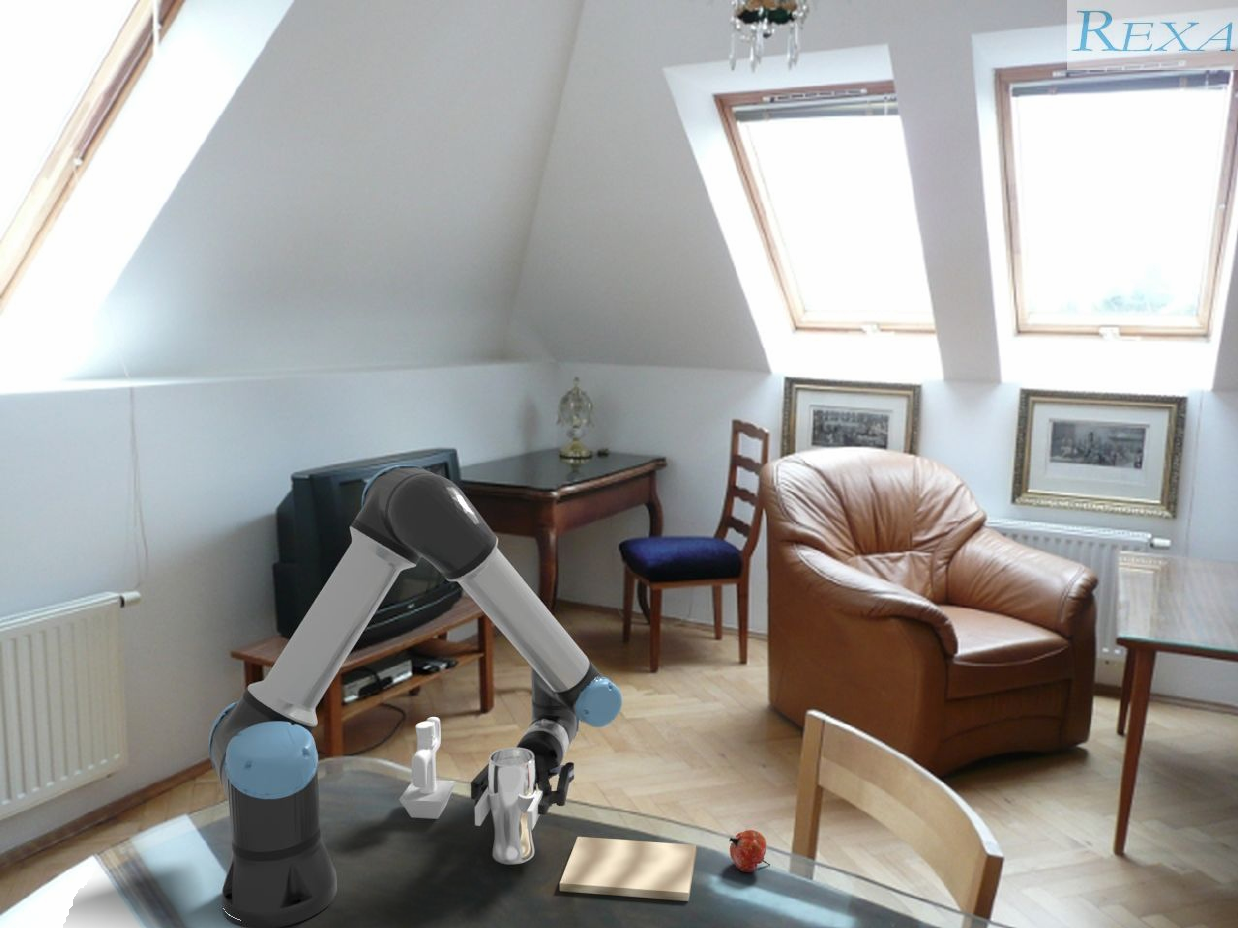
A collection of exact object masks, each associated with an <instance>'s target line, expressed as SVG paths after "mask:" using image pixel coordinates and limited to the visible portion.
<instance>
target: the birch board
mask: <svg viewBox="0 0 1238 928" xmlns="http://www.w3.org/2000/svg"><path fill="white" fill-rule="evenodd" d="M696 856H697V844H687V843H674V842H658V841H644V840H629V839H615V838H614V839H613V838H599V837H587V836H586V837H585V836H577V838H576V840H575V843H574V845H573V847H572V851H571V853H570V855H569V858H568V861H567V863H566V866H565V868H564V871H563V874H562V876H561V879H560V881H559V891H560V892H567V893H580V894H592V895H607V896H619V897H629V898H645V899H657V900H670V901H672V900H673V901H683V902H689V900H690V896H691V895H690V894H691V889H692V888H691V887H692V882H693V875H694V869H695V862H696Z"/></svg>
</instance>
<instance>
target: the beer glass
mask: <svg viewBox="0 0 1238 928" xmlns="http://www.w3.org/2000/svg"><path fill="white" fill-rule="evenodd" d="M534 757H535V756H534V753H533V752H532V751H530V750H528V749H524V748H517V746H513V747H512V746H511V747H504V748H500V749H498V750H495V751H493V752H492V753H490V754H489V757H488V763H489V770H488V793H489V801H490V806H491V809H490V811H491V815H492V820H493V825H494V842H493V848H492V858H493V860H495V861H496V862H497V863H500V864H504V865H519V864H523V863H526V862H528V861H529V860H531V859H533V857H534V855H535V846H534V841H533V835H532V830H529V829H527V810H528V808H529V807H530V805H531V803H532V801H533V799H534V797H535V795H536V793H537V783H536V768H535V758H534Z"/></svg>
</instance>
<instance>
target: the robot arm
mask: <svg viewBox="0 0 1238 928" xmlns="http://www.w3.org/2000/svg"><path fill="white" fill-rule="evenodd" d="M349 530H350V534H351V544H350V545H349V547H348V548H347V549H346V551H345V553H344V555H343V556H342V557H341V559H340V561H339V562H338V564H337V565H336V567H335V569H334V570H333V571H332V573H331V575H330V577H329V578H328V580H327V582H326V583H325V584H324V586H323V588H322V590H321V591H319V594H318V595H317V597H316V598H315V600H314V602H313V603H312V604H311V607H309V610H308V611H307V612H306V614H305V616H304V617H303V619H302V620H301V622H300V623H299V625H298V627H297V628H296V630H295V631H294V633H293V635H292V636H291V638H290V639H289V641H288V642H287V644H286V645H285V647H284V649H283V650H282V652H281V653H280V654H279V657H278V658H277V660H276V661H275V662H274V665H273V666H272V668H270V671H269V672H268V674H267V675H266V676H265V678H264V679H263V680H261V681H257V682H253V683H251V684H249V685H248V686H247V687H246V689H245V690H244V692H243V694H242V695H241V696H240V699H239V700H238V701H236V702H235V701H234V702H233V703H231V704H229V705H227V706H226V707H225V708H224V709H223V710H222V711H221V712H220V713H219V715H217V717H216V719H215V720H214V722H213V724H212V726H211V728H210V733H209V736H208V753H209V754H208V755H209V759H210V761H211V765H212V768H213V770H214V772H215V773H216V775H217V776H218V778H219V781H220V784H221V786H222V787H223V790H224V792H225V795H226V797H227V802H228V808H229V820H230V821H229V822H230V837H231V846H232V847H231V853H232V854H231V856H230V862H229V864H228V869H227V872H226V875H225V879H224V882H223V886H222V890H221V906H222V905H223V906H222V913H223V916H224V918H225V919H227V920H228V921H229V922H230V923H231V924H234V925H236V926H240V927H242V928H283V927H286V926H291V925H295V924H298V923H301V922H303V921H305V920H308V919H310V918H312V917H314V916H316V915H317V914H319V913H320V912H322V911H324V910H325V909H326V908H327V907H328V906H329V905H330V904H331V903H332V902H333V901H334V899H335V898H336V895H337V893H338V884H337V883H338V881H337V880H338V879H337V872H336V868H335V866H334V863H333V862H332V860H331V858H330V855H329V852H328V850H327V848H326V845H325V843H324V841H323V838H322V832H321V831H322V829H321V813H320V812H321V811H320V809H321V808H320V793H319V773H318V766H319V755H318V753H319V752H318V750H317V748H316V746H317V745H316V742H315V738H314V737H313V735H312V733H313V731H314V730H315V728H316V727H317V725H318V718H317V714H316V707H317V706H318V704H319V703H320V701H321V699H322V698H323V696H324V694H325V693H326V691H327V690H328V688H329V687H330V685H331V684H332V682H333V680H334V679H335V677H336V676H337V674H338V672H339V670H340V669H341V667H342V666H343V664H345V661H346V659H347V658H348V656H349V654H350V653H351V651H352V650H353V648H354V646H355V645H356V643H357V642H358V640H359V639H360V637H361V635H362V634H363V632H364V630H365V629H366V628H367V626H368V624H369V623H370V621H371V619H372V618H373V616H374V615H375V614H376V611H377V610H378V609H379V607H380V605H381V604H382V603H383V601H384V599H385V597H386V595H387V594H388V592H389V591H390V589H391V588H392V586H393V584H394V583H395V581H396V580H397V578H398V576H399V574H401V572H402V571H404V570H407V569H411V568H415V567H417V564H418V563H419V562H420V561H421V559H422V558H423V559H425V560H426V561H427V562H428V563H430V564H431V565H432V566H434V567H435V568H436V569H437V570H438V571H439V573H441V575H442V576H443V577H444V579H445V580H447V581H449V582H458V584H459V585H460V586H461V587H462V589H463V590H464V591H465V592H466V593H467V594H468V595H469V596H470V597H471V598H472V600H473V601H474V602H475V603H476V604H477V605H478V607H479V608H480V609H481V610H482V611H483V613H484V614H485V615H486V616H487V617H488V618H489V619H490V621H492V623H493V624H494V625H495V626H496V628H497V629H498V630H499V631H500V632H501V633H502V635H504V637H506V639H507V640H508V641H509V642H510V644H511V645H512V646H513V647H514V648H515V649H516V650H517V651H518V652H519V654H520V655H521V656H522V657H523V658H524V660H526V661H527V663H528V664H529V665H530V672H531V673H530V674H531V675H530V676H531V682H530V683H531V722H530V725H529V726H528V728H527V730H526V731H525V733H524V734H523V735H522V738H520V741H519V742H518V744H517V745H516V747H517V748H524V749H528V750H530V751H532V752H533V753H534V756H535V757H534V758H535V768H536V787H537V788H538V790H536V795H535V797H534V799H533V801H532V803H531V805H530V807H529V808H528V810H527V829H529V830H531V831H533V829H534V828H535V826H536V823H537V821H538V820H539V818H540V816H541V815H544V816H545V815H547V813H548V811H549V809H550V808H551V807H552V806H553V805H554V804H556V806H558V807H563V806H565V805H566V802H567V796H568V790H569V786H570V783H572V782H573V780H574V779H575V764H574V762H572V761H568V762H566V763H564V764H562V762H563V760H564V758H565V756H566V754H567V752H568V750H569V748H570V745H571V744H572V742H573V740H574V739H575V738H576V736H577V733H578V732H579V727H580V723H583V724H587V725H588V726H590V727H593V728H602V727H605V726H607V725H609V724H611V723H612V722H613V721H615V719H616V718H617V717H618V715H619V714H620V711H621V709H622V704H623V696H622V692H621V690H620V689H619V687H618V686H617V685H616V684H615V683H614V682H613V681H612V680H611V679H609V678H608V677H605V676H604V675H603V674H602V673H601V672H600V671H599V670H598V669H597V667H596V666H595V665H594V664H593V662H592V661H591V660H590V659H589V658H588V656H587V655H586V654H585V653H584V651H583V650H582V649H581V648H580V647H579V645H578V644H577V643H576V642H575V641H574V640H573V638H572V637H571V636H570V634H568V632H567V630H565V629H564V627H563V626H562V625H561V623H560V622H559V621H558V620H557V618H556V617H555V616H554V615H553V614H552V612H551V611H550V610H549V609H548V608H547V606H546V605H545V604H544V603H543V601H541V599H540V598H539V597H538V595H536V593H535V592H534V591H533V590H532V588H531V586H529V585H528V583H527V582H526V581H525V580H524V579H523V577H522V576H521V575H520V574H519V573H518V571H517V569H515V567H514V566H513V565H512V564H511V563H510V562H509V560H508V559H507V558H506V557H505V555H504V554H503V553H502V552H501V550H500V549H499V548H498V543H499V538H498V537H497V535H496V533H495V532H494V531H493V530H492V529H491V527H490V526H489V525H488V524H487V522H486V521H485V520H484V518H483V517H482V516H481V514H480V512H479V511H478V510H477V509H476V507H475V506H474V505H473V504H472V502H471V501H470V499H468V497H467V496H466V495H465V493H464V492H463V491H462V490H461V489H460V488H459V486H457V485H456V484H455V483H454V482H453V481H451V479H448V478H446V477H444V476H442V475H439V474H436V473H435V472H431V471H429V470H426V469H425V468H423V467H421V466H418V465H414V464H396V465H395V464H394V465H391V466H388V467H385V468H383V469H381V470H379V471H377V473H375V474H374V475H373V476H372V477H371V478H370V479H369V481H367V483H366V484H365V486H364V489H363V492H362V496H361V509H360V510H359V512H358V514H357V516H356V517H355V519H354V520H353V522H352V523H351V524H350V526H349ZM488 770H489V762H488V763H487V764H486V765H485V766H484V767H483V769H482V770H481V771H480V772H479V773H478V774H477V775H476V776H475V777H474V779H472V781H470V799H471V800H472V801H473V800H474V826H478V827H480V826H481V825H482V824H483V822H484V820H485V819H486V817H487V815H488V814H489V812H490V811H491V806H490V801H489V793H488ZM557 775H558V780H557V785H556V790H552V786H553V785H552V784H551V782H550V779H552V778H553V777H555V776H557ZM223 908H224V909H225V910H224V909H223ZM225 911H226V912H227V913H228V914H230V915H231V916H233V917H235V918H237V919H240V920H241V921H240V920H237V919H235V918H233V917H231V916H229V915H228V914H227V913H226V912H225Z"/></svg>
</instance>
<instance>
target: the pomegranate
mask: <svg viewBox="0 0 1238 928" xmlns="http://www.w3.org/2000/svg"><path fill="white" fill-rule="evenodd" d="M728 841H729V843H730V842H731V843H730V847H729V855H730V857H731V860H732V862H733V863H734V865H735V867H736V868H737V869H739V870H740V871H742V872H744V873H752V872H754V871H755V872H756V870H757V867H758V865H760V864H762V863H764V864H766V865H768V866H770V865H771V864H770V863H769V862H767V861H766V860H765V855H766V852H767V840H766V838H765V837H764V835H763V834H762V833H760V832H759V831H756V830H752V829H750V830H749V829H748V830H744V831H741V832H739V833H737V834H736V835H735V838H734V837H730V838H729V840H728Z"/></svg>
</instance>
